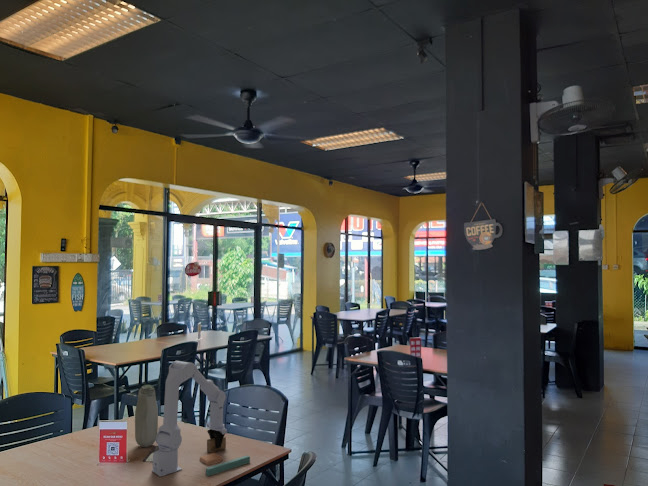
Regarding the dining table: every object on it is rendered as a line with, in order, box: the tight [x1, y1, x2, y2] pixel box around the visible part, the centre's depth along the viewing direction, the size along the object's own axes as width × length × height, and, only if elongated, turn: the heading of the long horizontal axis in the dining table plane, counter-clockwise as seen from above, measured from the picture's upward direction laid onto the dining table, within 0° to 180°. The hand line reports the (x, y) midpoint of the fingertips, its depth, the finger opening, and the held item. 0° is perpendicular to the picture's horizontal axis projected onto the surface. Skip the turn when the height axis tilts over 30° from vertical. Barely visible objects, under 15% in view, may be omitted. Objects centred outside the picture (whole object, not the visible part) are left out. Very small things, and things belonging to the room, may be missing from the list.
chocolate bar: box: [142, 445, 160, 463], centre depth 221 cm, size 9×1×18 cm
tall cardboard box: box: [206, 436, 227, 454], centre depth 225 cm, size 8×3×5 cm, turn 133°
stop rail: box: [205, 455, 251, 477], centre depth 205 cm, size 20×2×2 cm, turn 133°
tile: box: [199, 452, 223, 466], centre depth 213 cm, size 7×7×2 cm
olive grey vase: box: [134, 384, 159, 448], centre depth 232 cm, size 10×10×28 cm
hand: (216, 446), depth 225 cm, fingers closed on tall cardboard box, 3 cm apart
